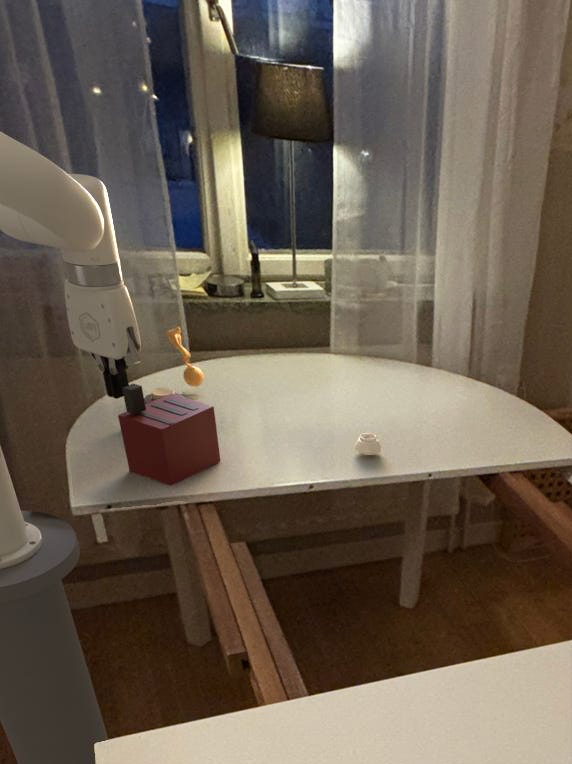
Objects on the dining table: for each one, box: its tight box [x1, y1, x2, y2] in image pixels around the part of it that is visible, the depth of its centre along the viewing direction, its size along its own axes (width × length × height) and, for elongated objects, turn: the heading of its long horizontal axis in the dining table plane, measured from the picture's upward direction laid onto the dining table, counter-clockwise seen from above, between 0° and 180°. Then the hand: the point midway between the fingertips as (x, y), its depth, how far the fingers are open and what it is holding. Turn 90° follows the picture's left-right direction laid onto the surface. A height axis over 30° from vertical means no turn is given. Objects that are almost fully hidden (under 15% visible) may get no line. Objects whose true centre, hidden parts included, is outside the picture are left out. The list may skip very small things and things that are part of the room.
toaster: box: [117, 394, 221, 487], centre depth 128 cm, size 12×9×10 cm
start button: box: [150, 387, 176, 401], centre depth 143 cm, size 4×4×2 cm
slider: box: [122, 383, 146, 414], centre depth 122 cm, size 2×2×4 cm
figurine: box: [166, 326, 205, 388], centre depth 156 cm, size 8×6×12 cm
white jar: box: [353, 432, 383, 456], centre depth 142 cm, size 5×3×5 cm
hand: (119, 394), depth 123 cm, fingers closed
